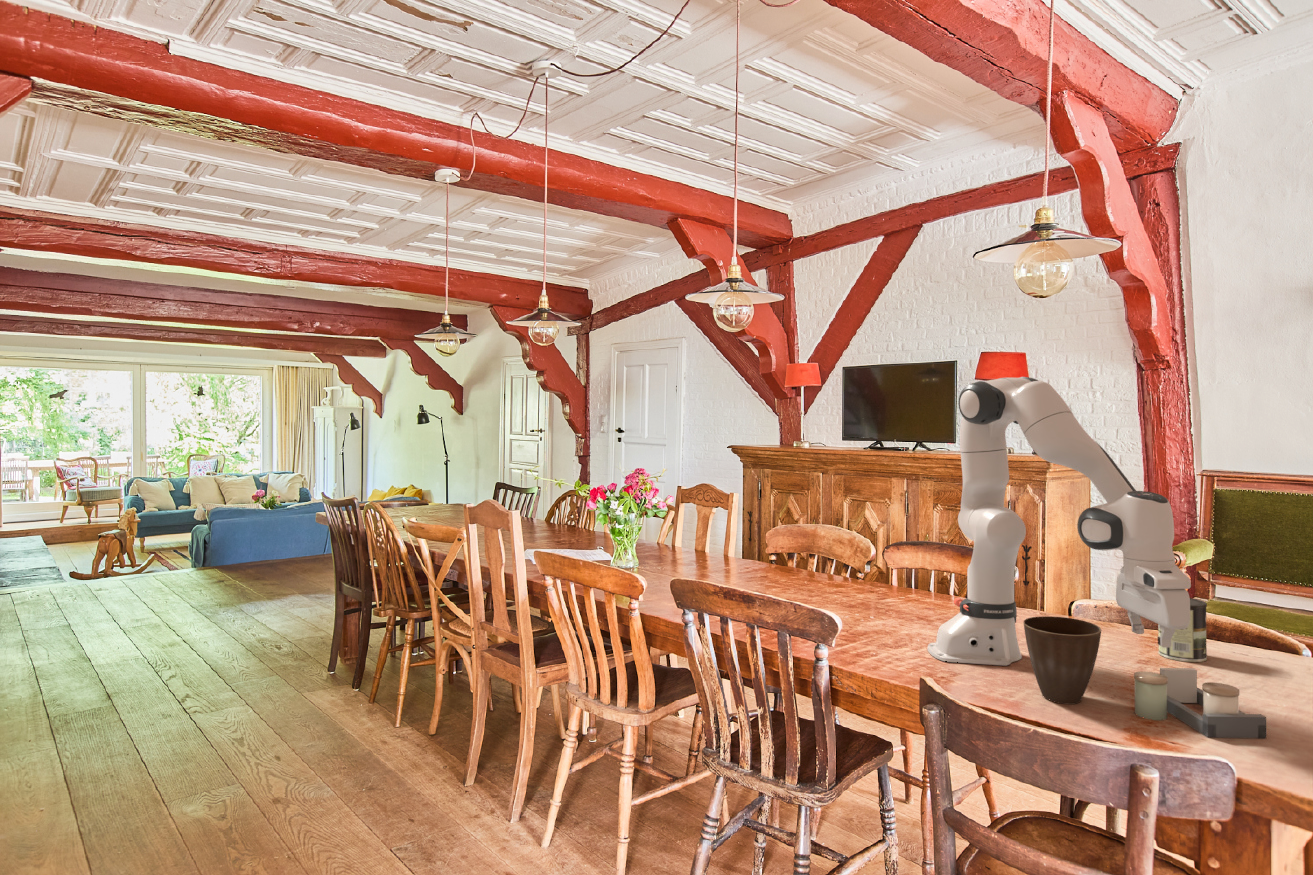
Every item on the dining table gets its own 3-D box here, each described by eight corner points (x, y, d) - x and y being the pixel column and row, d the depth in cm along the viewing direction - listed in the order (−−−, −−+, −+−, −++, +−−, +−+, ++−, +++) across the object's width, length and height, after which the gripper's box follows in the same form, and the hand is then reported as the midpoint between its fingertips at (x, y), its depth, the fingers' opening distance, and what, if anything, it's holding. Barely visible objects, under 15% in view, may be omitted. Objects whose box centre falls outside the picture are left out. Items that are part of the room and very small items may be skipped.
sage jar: (1144, 720, 152) (1143, 680, 152) (1128, 709, 158) (1128, 671, 158) (1174, 720, 152) (1174, 680, 152) (1157, 709, 158) (1157, 671, 157)
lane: (1207, 737, 144) (1207, 716, 143) (1144, 697, 164) (1144, 679, 164) (1266, 738, 143) (1266, 717, 143) (1195, 697, 164) (1195, 679, 164)
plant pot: (1118, 707, 159) (1118, 631, 159) (1057, 714, 156) (1056, 636, 156) (1066, 683, 174) (1065, 614, 173) (1008, 689, 171) (1008, 618, 170)
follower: (1163, 702, 161) (1163, 669, 161) (1153, 696, 164) (1153, 664, 164) (1197, 702, 160) (1196, 669, 160) (1186, 696, 164) (1186, 664, 164)
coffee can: (1194, 650, 196) (1194, 596, 196) (1215, 663, 186) (1215, 606, 186) (1150, 649, 199) (1150, 595, 198) (1168, 661, 188) (1168, 604, 188)
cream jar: (1214, 734, 145) (1214, 692, 145) (1195, 722, 151) (1195, 682, 151) (1246, 734, 145) (1246, 692, 144) (1226, 722, 150) (1226, 682, 150)
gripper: (1106, 562, 165) (1108, 626, 165) (1161, 582, 144) (1163, 654, 145) (1136, 562, 164) (1138, 625, 164) (1196, 581, 144) (1198, 654, 144)
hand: (1150, 639), depth 154 cm, fingers open, 8 cm apart
